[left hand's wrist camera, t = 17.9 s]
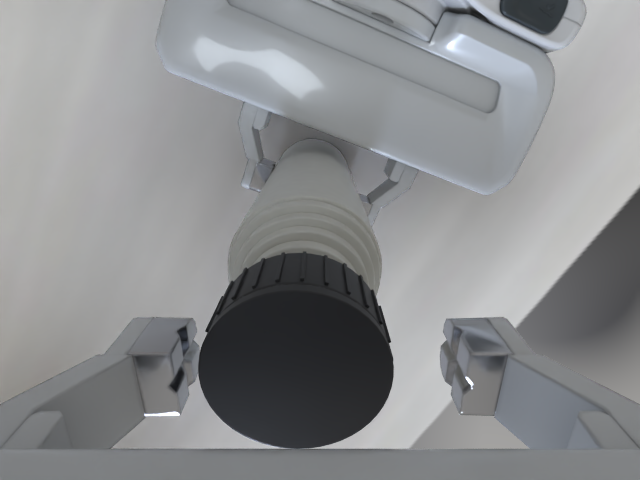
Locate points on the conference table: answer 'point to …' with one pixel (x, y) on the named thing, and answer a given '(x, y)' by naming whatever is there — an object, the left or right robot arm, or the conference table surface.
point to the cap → (297, 353)
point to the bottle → (308, 215)
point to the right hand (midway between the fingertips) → (306, 207)
